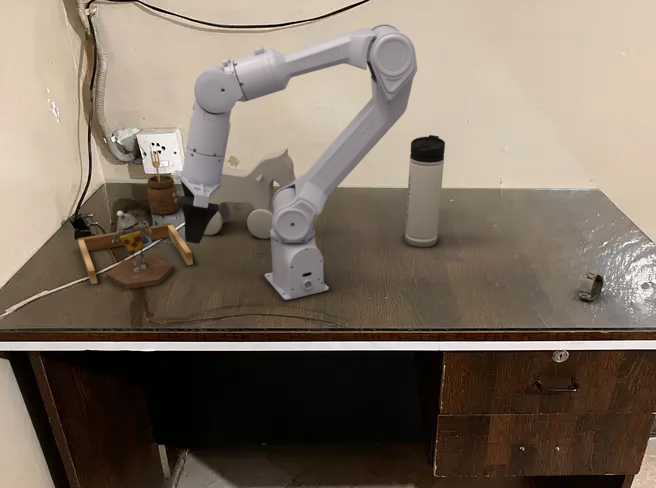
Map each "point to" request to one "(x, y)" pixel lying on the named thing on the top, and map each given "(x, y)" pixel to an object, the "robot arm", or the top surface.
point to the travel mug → (424, 190)
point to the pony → (252, 192)
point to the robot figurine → (139, 269)
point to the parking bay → (106, 242)
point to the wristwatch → (591, 286)
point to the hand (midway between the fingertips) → (192, 231)
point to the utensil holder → (162, 191)
